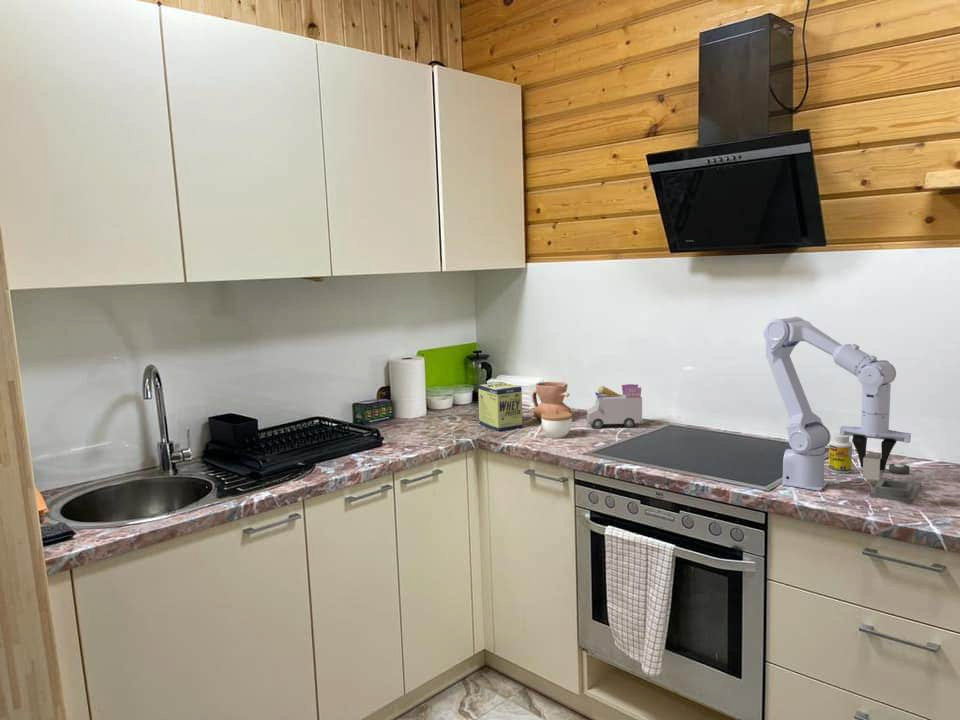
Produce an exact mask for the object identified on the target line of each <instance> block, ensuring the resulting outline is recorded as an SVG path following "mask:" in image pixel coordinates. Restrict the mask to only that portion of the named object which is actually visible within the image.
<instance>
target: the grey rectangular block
mask: <svg viewBox="0 0 960 720" xmlns="http://www.w3.org/2000/svg"><path fill="white" fill-rule="evenodd" d="M881 458H882V454H881V452H875V451H868V452H866V455H865V456H864V457H863V468H862V479H869V480H874V481H879V480H880V479H881V477H884V476H883V474H884V473H883V472H884V470H881Z"/></svg>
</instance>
